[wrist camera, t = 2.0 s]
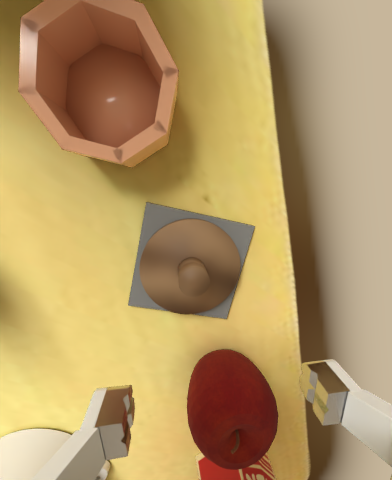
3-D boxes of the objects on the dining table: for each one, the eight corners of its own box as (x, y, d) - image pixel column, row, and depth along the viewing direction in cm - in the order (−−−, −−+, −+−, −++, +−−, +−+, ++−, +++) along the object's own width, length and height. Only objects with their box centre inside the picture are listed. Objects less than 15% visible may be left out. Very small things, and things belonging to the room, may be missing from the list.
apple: (250, 325, 27) (293, 403, 18) (254, 381, 30) (293, 475, 21) (178, 339, 27) (183, 427, 17) (189, 395, 29) (198, 499, 20)
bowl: (162, 175, 21) (159, 173, 16) (54, 148, 20) (16, 138, 15) (183, 61, 19) (188, 20, 14) (63, 19, 17) (21, -43, 12)
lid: (223, 314, 26) (232, 337, 22) (133, 302, 24) (126, 325, 20) (249, 229, 23) (264, 239, 20) (150, 208, 22) (146, 214, 18)
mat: (225, 316, 27) (226, 318, 26) (128, 303, 25) (128, 305, 24) (253, 225, 24) (254, 226, 23) (146, 202, 22) (146, 202, 21)
